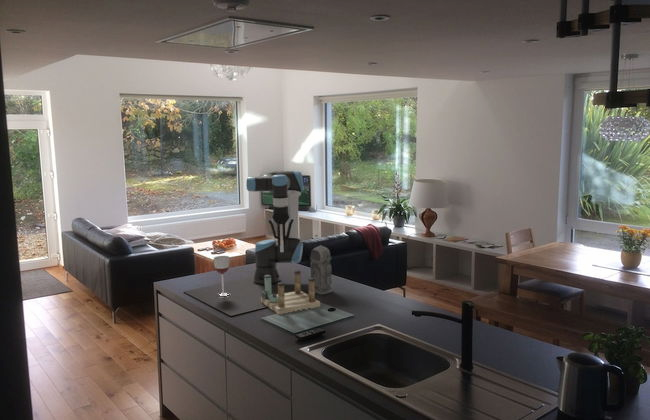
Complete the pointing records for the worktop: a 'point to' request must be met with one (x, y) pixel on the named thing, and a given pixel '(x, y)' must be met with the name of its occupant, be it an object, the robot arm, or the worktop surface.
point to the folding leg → (269, 289)
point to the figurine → (321, 269)
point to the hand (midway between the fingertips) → (281, 251)
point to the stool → (292, 297)
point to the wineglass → (221, 268)
